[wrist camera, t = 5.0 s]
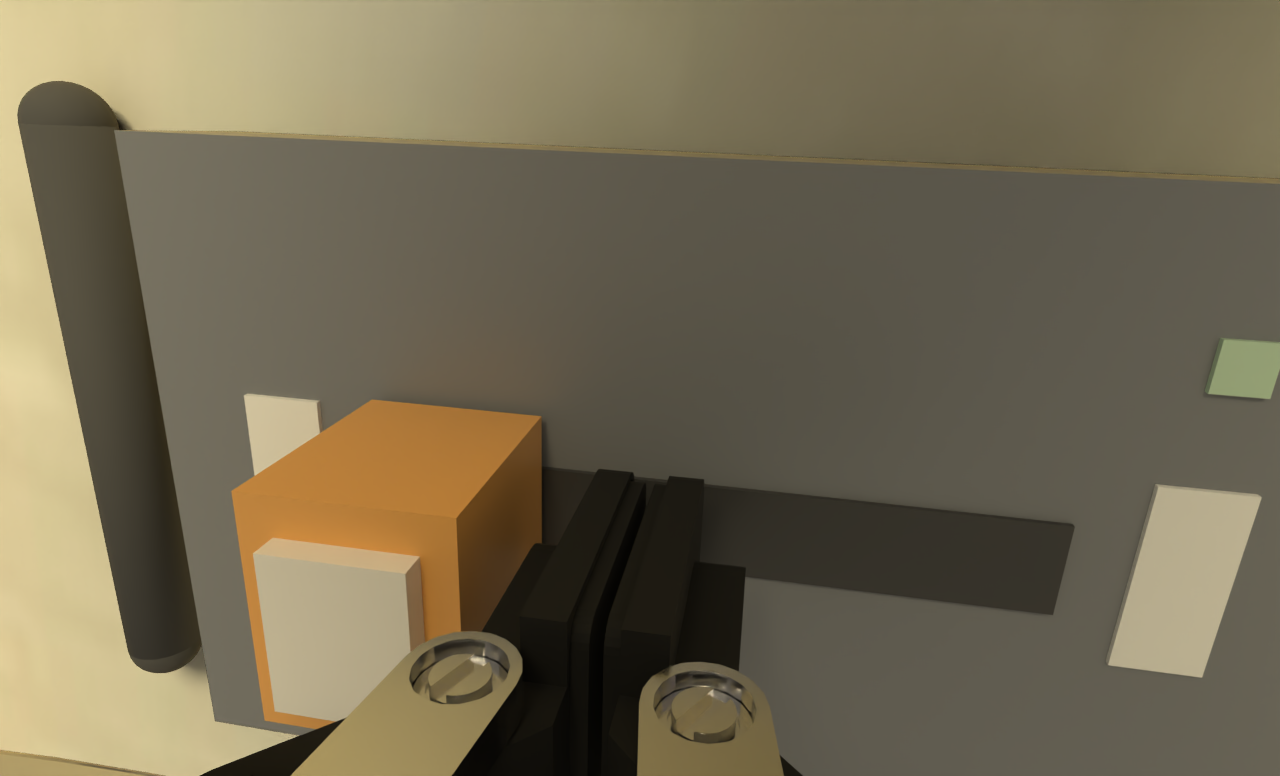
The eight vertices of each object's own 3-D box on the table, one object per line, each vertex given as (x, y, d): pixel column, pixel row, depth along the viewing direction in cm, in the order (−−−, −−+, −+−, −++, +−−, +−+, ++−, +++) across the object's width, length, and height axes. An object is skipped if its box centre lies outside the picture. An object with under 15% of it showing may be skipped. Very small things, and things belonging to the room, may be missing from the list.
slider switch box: (235, 131, 15) (109, 129, 12) (1350, 182, 12) (1526, 195, 10) (297, 635, 19) (211, 724, 16) (1160, 763, 16) (1245, 900, 13)
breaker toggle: (371, 399, 13) (209, 505, 9) (541, 416, 13) (442, 534, 9) (385, 582, 14) (246, 741, 10) (541, 603, 14) (454, 777, 10)
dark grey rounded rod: (61, 82, 16) (-15, 76, 14) (131, 85, 15) (61, 80, 14) (167, 641, 20) (117, 682, 18) (222, 649, 20) (176, 692, 18)
